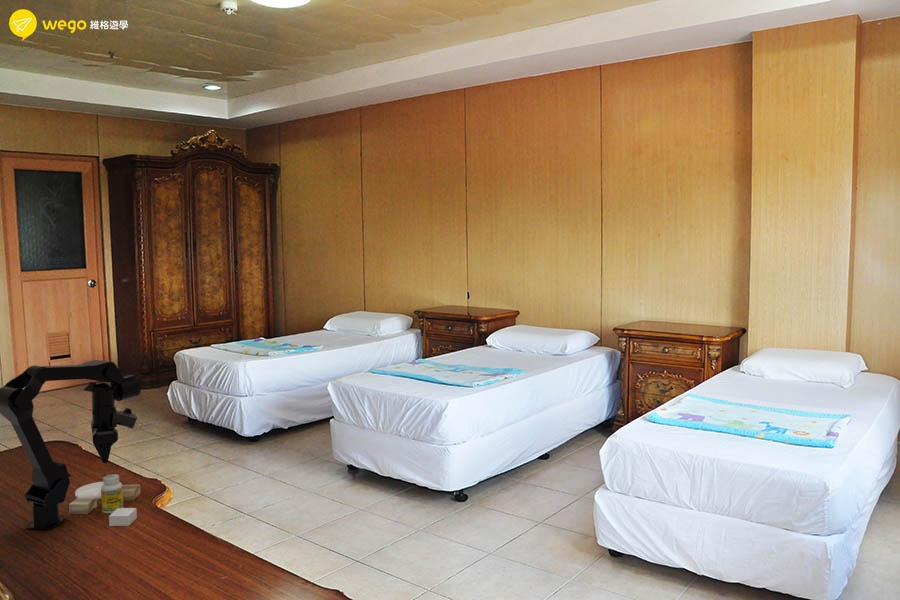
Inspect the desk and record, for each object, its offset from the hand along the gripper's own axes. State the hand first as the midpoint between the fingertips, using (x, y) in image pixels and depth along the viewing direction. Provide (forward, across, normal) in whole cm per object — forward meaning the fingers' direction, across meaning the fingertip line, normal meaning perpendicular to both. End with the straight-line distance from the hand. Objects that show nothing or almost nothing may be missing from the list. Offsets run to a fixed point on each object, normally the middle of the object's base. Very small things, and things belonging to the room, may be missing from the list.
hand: (104, 458), depth 192 cm
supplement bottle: (+13, -8, -1) cm, 15 cm away
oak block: (+13, 0, -6) cm, 14 cm away
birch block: (+13, -4, +6) cm, 15 cm away
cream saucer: (+12, +8, +2) cm, 15 cm away
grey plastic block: (+13, -17, -3) cm, 22 cm away
